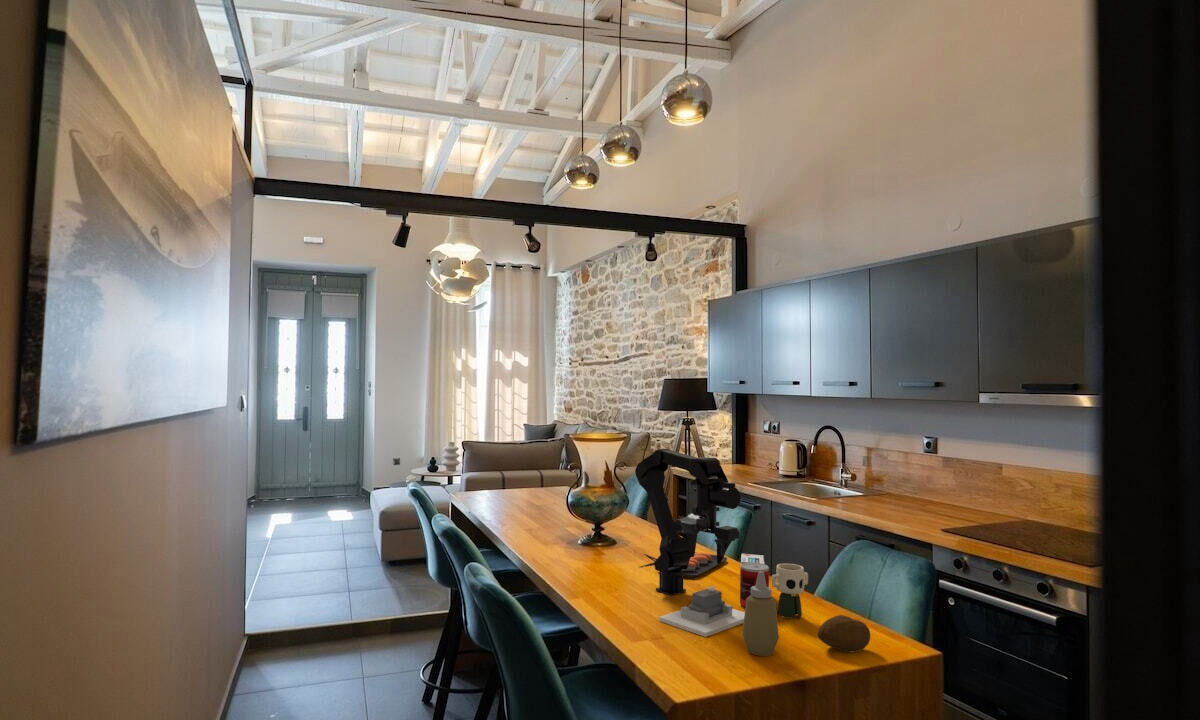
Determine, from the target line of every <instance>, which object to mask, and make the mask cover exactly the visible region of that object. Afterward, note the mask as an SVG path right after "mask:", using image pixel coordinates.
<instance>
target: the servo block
mask: <svg viewBox="0 0 1200 720" xmlns="http://www.w3.org/2000/svg"><path fill="white" fill-rule="evenodd" d="M691 595H692V596H691V599H692V600H691V604H688V606H687V607H688V608H689V609H693V610H696V611H699V612H705V613H708V614H709V617H712V616H715V615H718V614H721V605H724V604H726V601H725V600H723V599H722V597H723V596H722V595H723V594H722V591H721V590H717V589H716V586H713V585H709V586H707V588H704V589H701V590H698V591H695V592H692V594H691Z"/></svg>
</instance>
